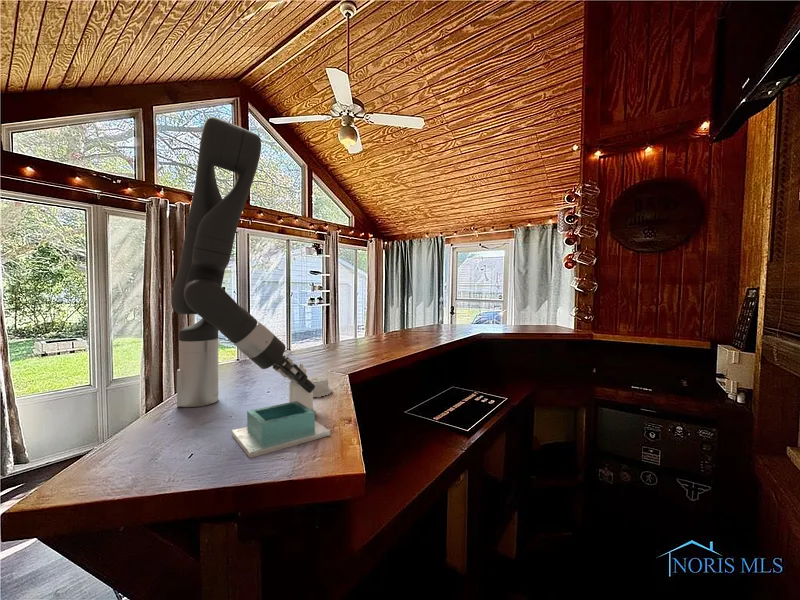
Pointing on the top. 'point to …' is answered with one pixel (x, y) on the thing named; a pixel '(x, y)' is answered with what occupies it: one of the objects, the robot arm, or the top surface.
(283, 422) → the tray
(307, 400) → the eye dropper bottle
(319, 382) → the mechanical component
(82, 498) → the top surface
